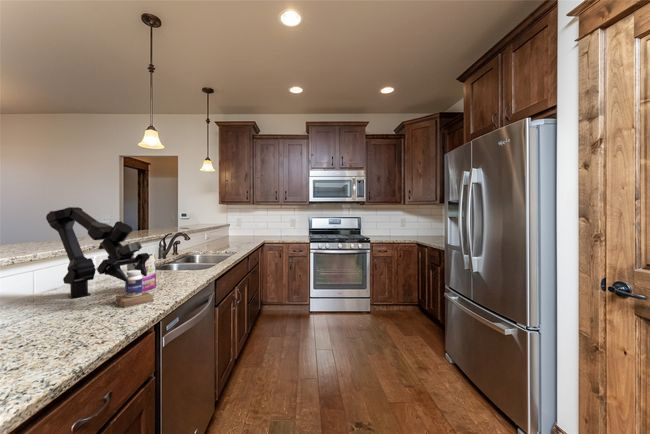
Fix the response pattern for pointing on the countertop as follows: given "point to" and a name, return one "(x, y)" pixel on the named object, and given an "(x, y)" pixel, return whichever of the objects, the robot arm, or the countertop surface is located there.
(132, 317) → the countertop surface
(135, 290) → the pill bottle
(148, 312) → the countertop surface
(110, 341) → the countertop surface
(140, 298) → the walnut block
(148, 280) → the candy bar box
